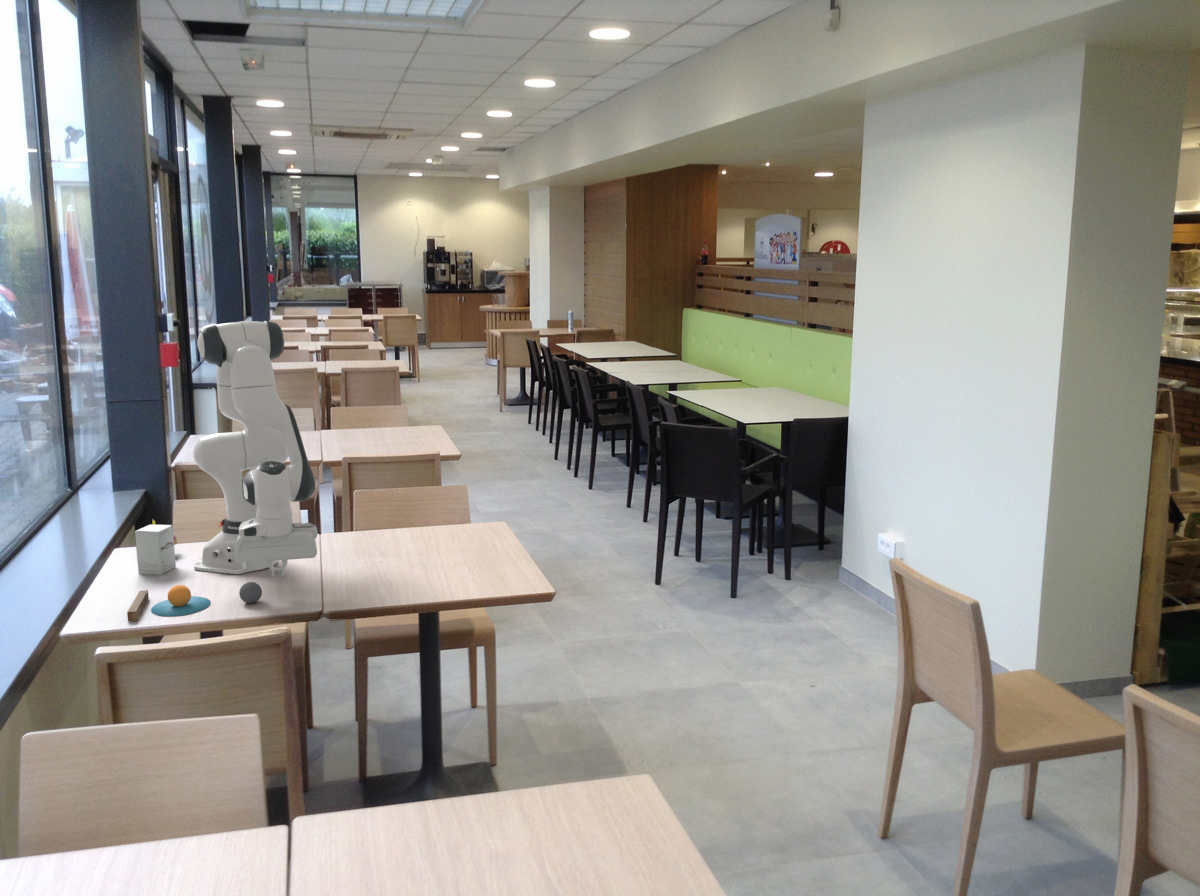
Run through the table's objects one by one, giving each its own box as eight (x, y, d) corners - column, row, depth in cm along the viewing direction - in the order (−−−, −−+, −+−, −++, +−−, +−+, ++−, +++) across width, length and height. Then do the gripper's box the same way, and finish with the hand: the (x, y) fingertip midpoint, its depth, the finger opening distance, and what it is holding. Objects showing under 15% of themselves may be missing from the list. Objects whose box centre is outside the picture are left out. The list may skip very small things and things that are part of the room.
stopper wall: (128, 621, 242) (127, 612, 242) (140, 599, 258) (139, 590, 257) (137, 620, 243) (136, 611, 242) (148, 599, 258) (147, 590, 258)
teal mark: (139, 615, 247) (139, 614, 247) (169, 596, 260) (169, 595, 260) (193, 617, 245) (193, 616, 245) (220, 598, 259) (220, 597, 259)
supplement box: (162, 575, 277) (157, 531, 275) (137, 574, 278) (133, 530, 276) (177, 567, 284) (173, 524, 282) (153, 566, 285) (149, 523, 283)
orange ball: (169, 582, 250) (192, 587, 251) (172, 582, 255) (194, 587, 256) (163, 604, 249) (186, 608, 250) (166, 604, 254) (188, 608, 255)
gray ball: (265, 585, 254) (266, 602, 256) (254, 574, 257) (255, 591, 260) (245, 593, 250) (246, 610, 253) (234, 582, 253) (236, 599, 256)
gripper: (317, 518, 261) (319, 568, 265) (234, 523, 256) (238, 573, 259) (316, 526, 255) (319, 576, 259) (232, 531, 250) (236, 582, 253)
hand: (278, 575), depth 259 cm, fingers closed
